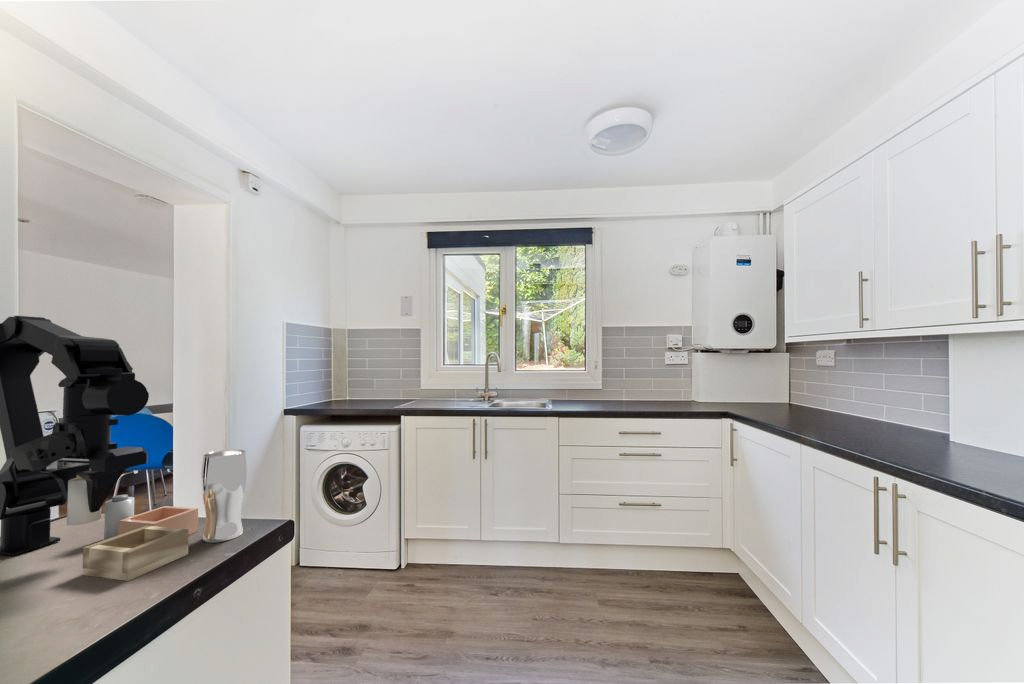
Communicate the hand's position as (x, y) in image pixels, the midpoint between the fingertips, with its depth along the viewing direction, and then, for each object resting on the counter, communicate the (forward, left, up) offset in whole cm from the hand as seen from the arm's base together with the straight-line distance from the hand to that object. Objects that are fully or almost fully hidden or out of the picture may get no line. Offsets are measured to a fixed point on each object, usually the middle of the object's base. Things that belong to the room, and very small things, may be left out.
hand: (84, 510), depth 71 cm
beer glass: (+14, +13, -8) cm, 21 cm away
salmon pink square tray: (+3, +10, -8) cm, 13 cm away
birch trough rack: (+11, +1, -8) cm, 13 cm away
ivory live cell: (0, 0, -2) cm, 2 cm away
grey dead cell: (-4, +8, -8) cm, 12 cm away
